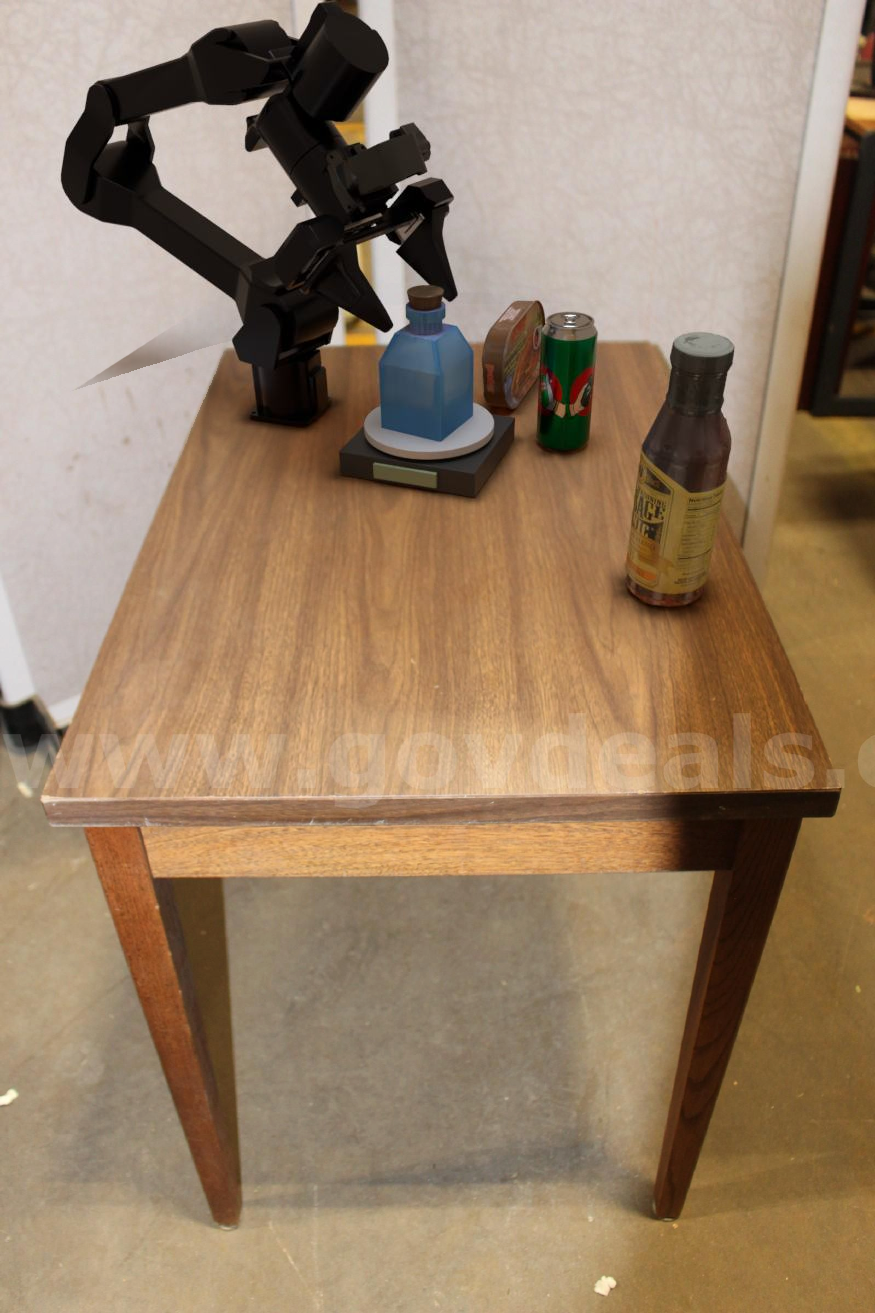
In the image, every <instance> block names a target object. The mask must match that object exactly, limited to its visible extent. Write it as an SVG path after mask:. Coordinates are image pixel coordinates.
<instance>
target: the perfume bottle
mask: <svg viewBox="0 0 875 1313" xmlns="http://www.w3.org/2000/svg"><path fill="white" fill-rule="evenodd" d="M443 292H444V290H443V289H442V288H440V287H438V286H433V285H429V284H420V285H415V286H412V287H409V288H408V289H407V290H406V294H407V295H406V296H407V298H408V302H406V304H405V318H406V320H408V324H407V325H405V326H403V327H402V328H400V329H399V330H397V331H396V332H394V333H393V335H392V337H391V339H390V340H389V342H388V344H387V346H386V348H385V350H384V352H383V353H382V354H381V355H382V356H380V358H379V360H378V362H377V363H378V364H377V365H378V380H379V381H378V384H379V387H378V388H379V406H380V408H381V428H384V429H389V430H393V431H397V432H401V433H405V434H409V435H413V436H418V437H422V438H426V439H430V440H434V441H438V442H441V441H443V440H444V439H445V438H446V437H447V436H449V435H450V434H451V433H452V432H454V431H455V430H456V429H457V428H459V427H460V426H461V425H462V424H463V423H465V422H466V421H467V420H468V419H470V418H471V417H472V416H473V402H474V374H475V372H474V368H475V364H474V362H475V361H474V360H475V359H474V358H475V356H474V355H475V351H474V349H473V347H472V346H471V345H470V344H469V341H468V340H467V339H466V337H465V336H464V334H463V332H462V331H461V329H460V328H459V326H458V325H454V324H450V323H444V322H443V320H445V318H446V316H447V315H446V313H447V312H446V303H445V302H444V301H443Z"/></svg>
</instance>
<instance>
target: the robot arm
mask: <svg viewBox="0 0 875 1313" xmlns="http://www.w3.org/2000/svg"><path fill="white" fill-rule="evenodd" d="M389 62H390V54H389V50H388V47H387V45H386V43H385V41H384V39H383V37H382V36H381V34H380V33H379V32H378V30H376V29H374V28H371V27H370V25H369V24H367V23H366V22H365V21H364V20H362V19H361V18H360V17H358V16H356V15H355V14H352V13H349V12H347V11H344V9H343V8H342V7H341V5H340V3H339V2H338V1H337V0H329V1H323V2H317V5H316V6H315V8H314V9H313V11H312V13H311V15H310V18H309V20H308V23H307V26H306V27H305V28H304V30H303V32H302V34H301V35H300V37H299V38H297V37H293V36H290V35H288V34H287V32H286V31H285V29H283V27H282V26H281V25H280V23H279V22H278V21H277V20H274V19H262V20H256V21H250V22H244V23H243V22H242V23H239V24H232V25H226V26H220V27H215V28H212V29H211V30H209V31H208V32H207V33H205V34H204V35H202V36H201V37H200V38H198V39H196V40H195V41H194V42H193V43H191V44H190V47H189V49H188V51H187V52H186V53H184V54H183V55H181V56H180V57H177V58H174V59H171V60H168V61H165V62H161V63H158V64H155V65H152V66H149V67H146V68H143V69H140V70H137V71H134V72H131V73H128V74H124V75H120V76H115V77H110V78H104V79H98V80H97V81H95V82H94V83H93V84H92V85H91V86H89V87H88V89H87V93H86V99H85V103H84V104H85V106H84V110H83V112H82V113H81V115H80V117H79V118H78V120H77V121H76V123H75V125H74V126H73V128H72V130H71V131H70V133H69V134H68V135H67V138H66V139H65V144H64V150H63V155H62V156H63V157H62V164H61V169H60V170H61V171H60V183H61V187H62V190H63V193H64V194H65V196H66V197H67V198H68V200H69V202H70V203H71V204H72V205H73V206H74V207H75V208H76V209H77V210H78V211H80V212H81V213H82V214H85V215H87V216H89V217H90V218H93V219H95V220H96V221H99V222H101V223H104V224H109V225H110V224H112V225H117V226H122V227H127V228H131V229H134V230H136V231H137V232H139V233H140V234H142V235H143V236H144V237H146V238H148V240H150V241H151V242H153V243H154V244H155V245H157V246H158V247H160V248H161V249H162V250H164V251H165V252H166V253H168V254H170V255H171V256H172V257H174V259H176V260H178V261H179V262H181V263H182V264H183V265H184V266H186V267H187V268H189V269H190V270H192V271H193V272H195V273H196V274H197V275H198V276H200V277H201V278H203V279H204V280H206V281H207V282H208V283H209V284H211V285H212V286H214V287H215V288H216V289H218V290H219V291H221V293H223V294H224V295H226V296H228V297H229V298H230V299H232V300H233V302H235V305H236V308H237V311H238V314H239V317H240V320H241V322H242V325H241V327H240V328H239V330H238V331H237V332H236V333H235V334H234V336H233V337H232V339H231V343H232V345H233V347H234V351H235V353H236V354H235V355H236V357H237V359H238V361H240V362H243V363H246V364H249V365H250V366H251V375H252V384H253V391H254V398H255V407H253V408H252V409H251V410H250V411H249V412H248V416H249V419H252V420H257V421H258V420H259V421H263V422H264V421H265V422H271V423H277V424H284V425H291V426H295V427H296V426H297V427H307V426H309V425H310V424H311V423H312V422H313V421H314V420H315V419H316V418H317V417H318V416H319V415H320V414H321V413H323V411H325V410H326V409H327V408H328V407H329V406H330V405H331V404H333V403H332V402H333V400H332V397H331V396H329V390H328V377H327V375H328V374H327V368H326V367H325V365H322V355H321V349H319V348H322V347H324V346H328V345H330V344H331V343H332V338H333V334H334V329H335V328H336V326H337V325H338V322H339V318H340V308H341V309H342V310H343V311H345V312H347V313H349V314H351V315H352V316H354V317H356V318H358V319H359V320H361V321H363V322H364V323H367V324H368V325H370V326H372V327H374V328H375V329H377V330H378V331H380V332H382V333H384V334H387V333H389V332H390V331H391V330H392V329H393V328H394V323H393V320H392V319H391V317H390V315H389V313H388V311H387V309H386V307H385V306H384V303H383V302H382V301H381V299H380V298H379V296H378V294H377V293H376V291H375V290H374V288H373V287H372V285H371V283H370V281H369V280H368V278H367V276H366V275H365V274H364V272H363V270H362V269H361V267H360V263H359V262H360V261H359V255H358V246H359V245H360V244H363V243H366V242H369V241H371V240H375V239H376V238H379V237H381V236H382V237H383V236H384V235H385V237H386V238H387V240H388V241H389V242H391V243H393V244H395V245H398V246H399V247H398V248H397V249H396V250H395V253H396V255H398V256H399V257H400V258H401V259H402V260H403V261H404V262H405V263H406V264H407V265H408V266H409V267H410V268H411V269H412V270H413V271H414V272H415V273H416V274H417V275H418V276H420V277H421V279H422V280H424V281H425V282H426V283H427V285H433V286H438V287H440V288H442V289H443V290H444V292H443V297H442V299H444V300H446V301H447V302H448V303H451V302H453V301H454V300H455V299H456V298H458V295H459V293H458V289H457V285H456V282H455V279H454V275H453V271H452V268H451V265H450V261H449V258H448V254H447V250H446V245H445V240H444V236H443V235H444V234H443V233H444V226H445V225H444V224H445V218H446V217H447V216H448V215H449V213H450V210H451V209H450V205H451V203H452V202H453V201H454V200H455V196H454V194H453V193H452V192H451V190H450V188H449V187H448V186H447V184H446V182H445V181H444V179H442V178H438V177H432V176H430V177H427V178H424V179H421V180H419V181H415V182H413V183H409V184H407V185H406V187H405V188H404V189H403V190H402V191H401V193H400V194H399V195H398V196H397V197H396V199H395V200H394V201H393V202H392V203H391V205H390V206H388V204H387V203H388V201H390V200H392V199H393V198H394V197H395V196H396V195H397V193H398V192H399V191H400V189H399V187H398V185H397V184H399V183H401V182H403V181H405V180H407V179H410V178H411V177H413V176H418V177H420V176H423V175H424V174H427V173H428V167H427V165H426V162H427V161H429V160H430V158H431V154H432V151H431V150H432V149H431V148H432V146H431V142H430V141H429V140H428V139H427V137H426V135H425V134H424V133H423V132H422V130H421V129H419V127H418V126H417V124H415V122H410V123H406V124H403V125H400V126H399V128H396V129H393V130H392V129H391V131H389V132H388V139H387V140H384V141H381V142H379V143H377V144H375V145H373V146H370V147H368V148H367V146H366V145H365V144H363V143H361V142H360V141H359V142H355V143H351V144H348V141H346V139H345V138H344V136H343V135H342V133H341V132H340V131H339V129H338V128H337V126H336V124H335V123H344V122H347V121H348V120H350V119H351V118H352V117H353V116H354V115H355V112H356V111H357V110H358V109H359V107H360V106H361V104H362V103H363V101H365V99H366V97H367V96H368V95H369V93H370V92H371V90H372V89H373V88H374V86H375V85H376V84H377V82H378V80H379V79H380V78H381V76H382V75H383V74H384V72H385V71H386V69H387V68H388V66H389ZM264 99H267V100H266V102H265V103H264V105H263V107H262V108H261V110H260V112H259V113H257V114H252V115H249V116H246V118H245V123H246V132H245V135H244V150H245V151H246V152H247V153H253V152H256V151H260V150H263V149H268V150H269V151H270V153H271V154H272V155H273V157H274V159H275V160H276V161H277V163H278V164H279V165H280V167H281V169H282V170H283V171H284V173H285V174H286V176H287V177H288V179H289V180H290V181H291V183H292V184H293V186H294V187H295V190H294V192H293V193H292V194H291V195H290V197H289V198H290V200H291V201H292V202H293V204H294V205H295V207H296V208H300V207H303V206H306V205H307V206H308V208H309V209H310V211H311V212H312V213H313V215H314V217H311V218H309V219H305V220H303V221H300V222H298V223H296V224H295V225H294V227H293V229H292V230H291V232H290V233H289V234H288V235H287V237H286V238H285V239H284V241H283V242H282V243H281V245H280V247H279V248H278V249H277V250H276V252H275V253H274V254H273V255H272V256H269V257H266V258H265V257H264V256H262V255H260V254H259V253H257V252H256V251H254V250H253V249H251V248H250V247H249V246H248V245H246V244H245V243H243V242H242V241H240V240H239V239H238V238H236V237H235V236H233V235H232V234H230V233H229V232H227V231H226V230H224V229H223V228H222V227H220V226H219V225H218V224H216V223H215V222H213V221H212V220H210V219H209V218H208V217H206V216H205V215H204V214H202V213H200V212H199V211H197V209H195V208H193V207H192V206H190V205H189V204H188V203H186V202H184V201H183V200H182V199H180V198H179V197H178V196H176V195H175V194H173V193H172V192H170V191H169V190H168V189H167V188H165V187H164V186H163V185H162V181H161V178H160V176H159V172H158V169H157V167H156V165H155V163H153V162H154V157H155V152H156V145H155V142H154V138H153V135H152V132H151V129H150V124H149V123H150V119H151V116H153V115H157V114H161V113H164V112H168V111H171V110H175V109H178V108H183V107H186V106H190V105H193V104H196V103H203V104H206V105H208V106H231V107H232V106H233V107H234V106H238V105H242V104H248V103H251V102H256V101H260V100H264ZM334 122H335V123H334ZM125 125H127V131H126V136H125V140H117V141H112V142H110V140H111V139H112V137H113V134H114V132H115V128H116V127H120V126H125Z"/></svg>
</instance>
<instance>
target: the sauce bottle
mask: <svg viewBox="0 0 875 1313" xmlns="http://www.w3.org/2000/svg"><path fill="white" fill-rule="evenodd" d="M735 349H736V348H735V344H734V343H733V342H732V341H731V339H729V338H727V337H726V336H723V335H721V334H717V333H713V332H707V331H693V332H687V333H683V334H681V335H678V336H677V337H676V338H675V339H674V340H673V342H672V346H671V351H670V355H669V360H670V361H669V362H670V367H671V369H670V374H669V381H668V387H667V388H668V389H667V392H666V393H665V400H664V402H663V403H662V406H661V407H660V409H659V410H658V413H657V415H656V416H655V419H654V421H653V422H652V424H651V426H650V428H649V430H648V432H647V434H646V436H645V438H644V440H643V442H642V443H641V448H640V454H639V462H638V470H637V477H636V484H635V490H634V498H633V506H632V512H631V522H630V530H629V536H628V542H627V543H628V545H627V552H626V559H625V570H626V576H625V581H626V588H627V589H628V590H629V591H630V593H632V594H633V596H635V597H636V598H639V600H640V601H641V602H643V603H645V604H647V605H651V606H659V607H666V608H673V607H682V606H686V605H689V604H692V603H694V602H695V601H697V600H698V599H700V597H701V595H702V594H703V590H704V587H705V583H706V582H707V579H708V577H709V573H710V572H709V571H710V567H711V566H710V565H711V562H712V556H713V551H714V547H715V546H714V545H715V540H716V535H717V531H718V526H719V520H720V515H721V510H722V505H723V501H724V495H725V490H726V484H727V479H728V472H727V471H728V467H729V466H728V465H729V460H730V455H731V451H732V444H733V442H732V440H733V439H732V433H731V429H730V428H729V424H728V420H727V417H725V416H724V414H723V412H722V408H723V405H724V403H725V397H724V395H725V394H724V393H725V390H726V383H727V378H728V372H729V371H730V369H731V367H733V364H734V356H735Z"/></svg>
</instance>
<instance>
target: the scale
mask: <svg viewBox="0 0 875 1313" xmlns="http://www.w3.org/2000/svg"><path fill="white" fill-rule="evenodd" d="M515 432H516V418H515V416H514V417H513V416H506V415H501V414H500V415H499V414H493V413H491V412H490V411H489V410H488V409H486V408H485V407H484V406H482V405H481V404H478V403H476V402H474V401H473V416H472V417H471V418H470V419H468V420H467V421H466V422H465V423H463V424H462V425H461V426H460V427H459V428H457V429H456V430H455V431H454V432H452V433H451V434H450V435H449V436H447V437H446V438H445V439H444V440H443V441H441V442H438V441H434V440H430V439H426V438H422V437H418V436H413V435H409V434H405V433H401V432H397V431H393V430H389V429H384V428H381V408H380V405H379V406H377V407H375V408H374V409H372V410H371V411H370V412H369V413H368V414H367V415H366V417H365V419H364V422H363V426H362V427H361V428H359V430H358V431H357V432H356V433H355V434H354V435H353V436H352V437H351V438H350V439H349V440H348V441H347V443H346V444H345V445H343V446H342V448H340V450H339V451H338V458H339V472H340V475H341V476H343V477H344V476H345V477H351V478H356V479H357V478H358V479H364V480H368V481H375V482H381V483H386V484H393V485H397V486H398V485H399V486H404V487H409V488H416V489H421V490H428V491H434V492H439V493H446V494H451V495H457V496H462V497H469V498H476V496H477V495H478V494H479V492H480V490H481V489H482V488H483V487H484V485H485V483H486V482H487V480H488V479H489V477H490V476H491V475H492V474H493V472H494V470H495V469H496V467H497V466H498V464H499V463H500V462H501V460H502V459H503V457H504V456H505V454H506V453H507V452H508V450H509V449H510V447H511V446H512V444H514V442H515Z"/></svg>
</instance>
